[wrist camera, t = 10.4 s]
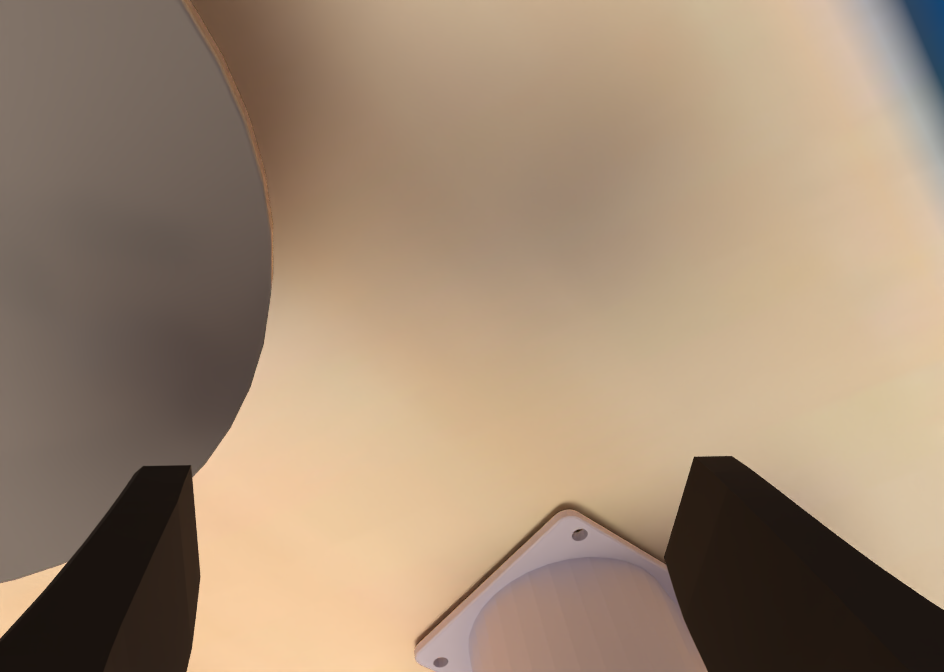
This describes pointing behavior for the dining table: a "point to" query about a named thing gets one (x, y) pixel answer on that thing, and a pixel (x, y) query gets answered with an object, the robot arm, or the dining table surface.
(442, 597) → the dining table surface
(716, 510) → the robot arm
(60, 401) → the lid
